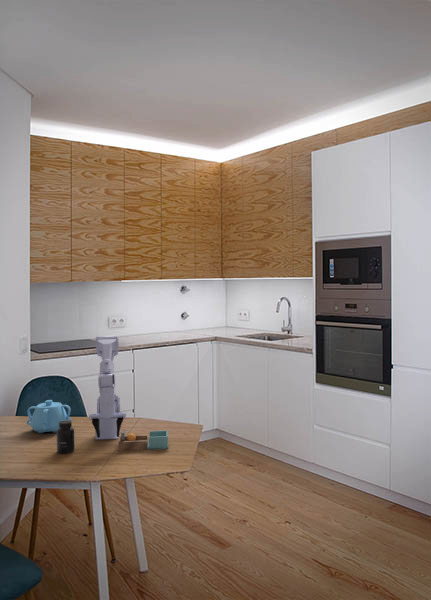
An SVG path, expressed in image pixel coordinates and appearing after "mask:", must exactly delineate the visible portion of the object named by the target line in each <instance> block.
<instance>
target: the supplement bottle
mask: <svg viewBox="0 0 431 600" xmlns="http://www.w3.org/2000/svg"><path fill="white" fill-rule="evenodd" d="M72 424H73V423H72V422H71V421H70V420H69V419H68V420H65V421H61V422H59V429H58V430H57V432H56V452H57V453H58V454H60V455H67V454H71V453H73V452H75V428H74V427H72V426H73V425H72Z"/></svg>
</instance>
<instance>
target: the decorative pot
mask: <svg viewBox="0 0 431 600" xmlns="http://www.w3.org/2000/svg"><path fill="white" fill-rule="evenodd" d="M65 408H66V409H67V411H66V409H65ZM33 409H34V411H33V412H32V413H31V410H33ZM71 411H72V410H71V407H70V406H69V405H68V404H62V403H61V402H59V401H58V402H56V401H55V402H54V401H53V399H48V400H45V401H44V402H42V403H38V404H37V405H36V406H34V405H33V406H30V407H28V408H27V412H26V413H27V416H28V418H29V419H27V420H26V424H27V425H28V426H31V429H32V430H33V431H34V432H37V434H43V433H47V432H49V433H50V432H52V433H54V434H57V430H58V429H59V422H61V421H65V420H69V421H71V422H72V421H73V419H72V418H71V417H70V415H71Z"/></svg>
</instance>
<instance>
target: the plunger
mask: <svg viewBox="0 0 431 600" xmlns="http://www.w3.org/2000/svg"><path fill="white" fill-rule="evenodd" d="M120 433H121V434H120V436H121V441H126V436H127V434H126V429H122V430H121V432H120Z"/></svg>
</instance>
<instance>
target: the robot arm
mask: <svg viewBox="0 0 431 600" xmlns="http://www.w3.org/2000/svg"><path fill="white" fill-rule="evenodd" d="M119 347H120V346H119V335H117V334H114V335H96V336H95V350H96V354H97V356H98V357H100V358H101V360H102V361H100V363H99V375H98V377H97V378H98V381H97V382H98V383H97V385H98V388H99V391H98V393H99V396H98V398H97V399H96V413H90V414H89V416H88V417H89V419H88V420H89V421H91V424H92V425H93V427H94V430H95V440H97V441H98V440H117V439H119V437H120V435H121V434H120V433H121V432H120V430H121V427H122V424H123V421H124V420H125V419H127V413H126V412H121V399H120V397H119V395H117V394H116V393H115V387H116V376H115V375H116V374H115V363H114V357H115V356H116V357H117V355H118V354H119Z"/></svg>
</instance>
